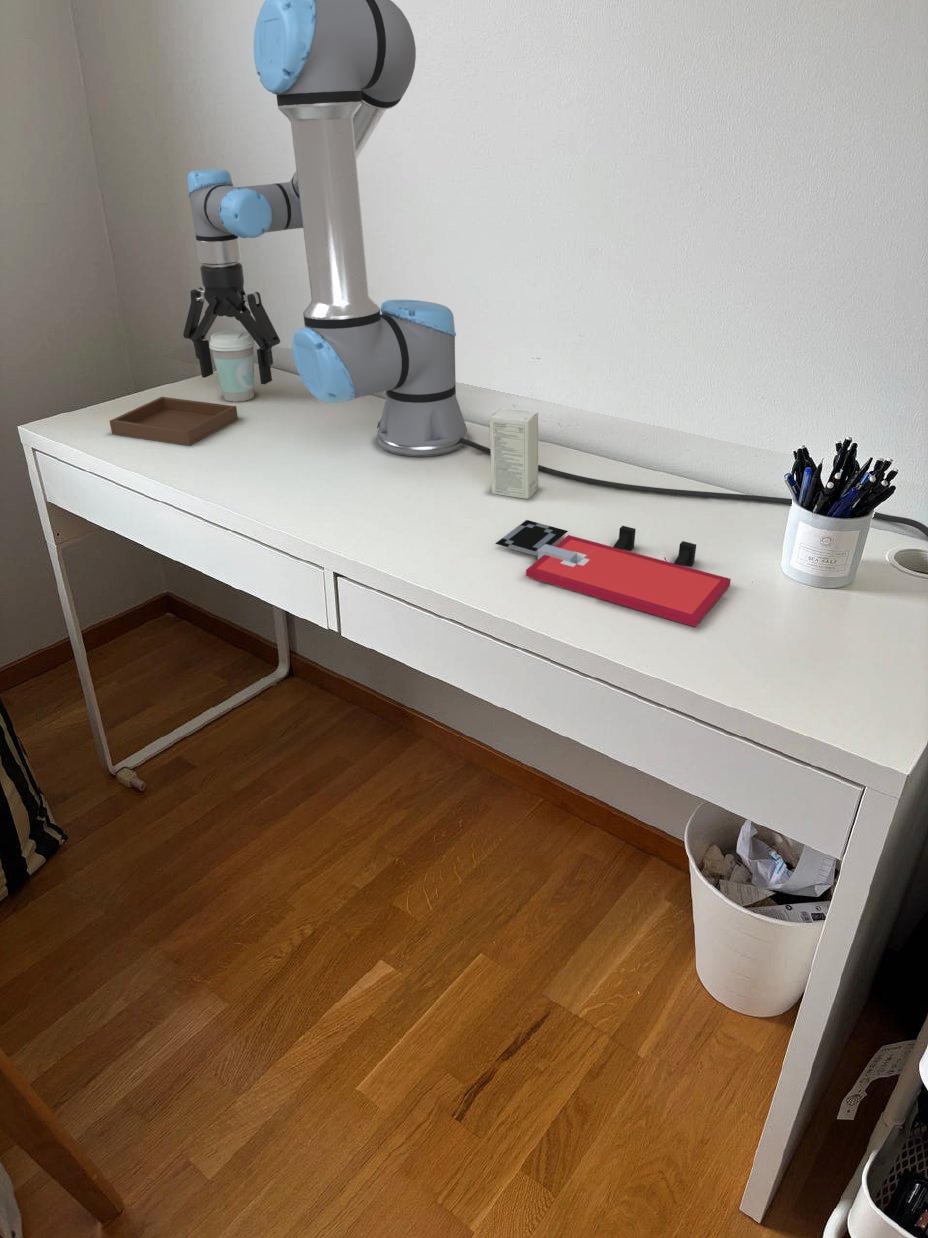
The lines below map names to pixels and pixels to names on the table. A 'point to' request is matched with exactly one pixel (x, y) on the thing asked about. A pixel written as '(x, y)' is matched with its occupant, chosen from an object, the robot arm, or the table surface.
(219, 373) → the coffee cup
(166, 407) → the tray
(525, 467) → the cosmetic box
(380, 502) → the table surface
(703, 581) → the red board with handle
